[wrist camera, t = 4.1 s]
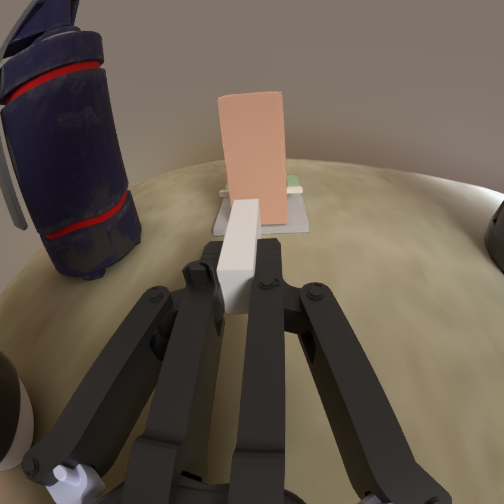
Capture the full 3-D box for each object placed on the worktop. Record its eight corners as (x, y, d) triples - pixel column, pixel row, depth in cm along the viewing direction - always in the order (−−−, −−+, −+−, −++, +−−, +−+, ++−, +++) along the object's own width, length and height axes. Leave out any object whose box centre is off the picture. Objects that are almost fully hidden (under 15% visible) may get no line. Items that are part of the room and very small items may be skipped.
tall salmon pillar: (301, 201, 31) (299, 90, 24) (306, 223, 27) (305, 93, 20) (222, 205, 32) (207, 97, 25) (214, 226, 28) (194, 101, 21)
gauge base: (296, 179, 40) (296, 167, 39) (308, 232, 28) (309, 215, 27) (231, 182, 41) (229, 170, 40) (214, 235, 29) (211, 219, 28)
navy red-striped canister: (106, 221, 35) (65, 25, 17) (164, 232, 31) (122, -18, 13) (35, 279, 25) (-30, 51, 7) (79, 312, 21) (-3, -8, 3)
